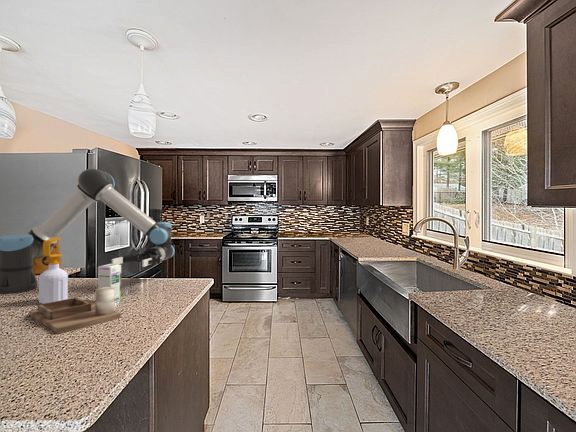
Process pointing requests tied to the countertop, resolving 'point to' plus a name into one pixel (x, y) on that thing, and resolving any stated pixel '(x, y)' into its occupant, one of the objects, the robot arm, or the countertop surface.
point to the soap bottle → (52, 278)
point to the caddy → (77, 311)
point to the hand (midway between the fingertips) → (127, 263)
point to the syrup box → (110, 278)
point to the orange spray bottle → (46, 260)
